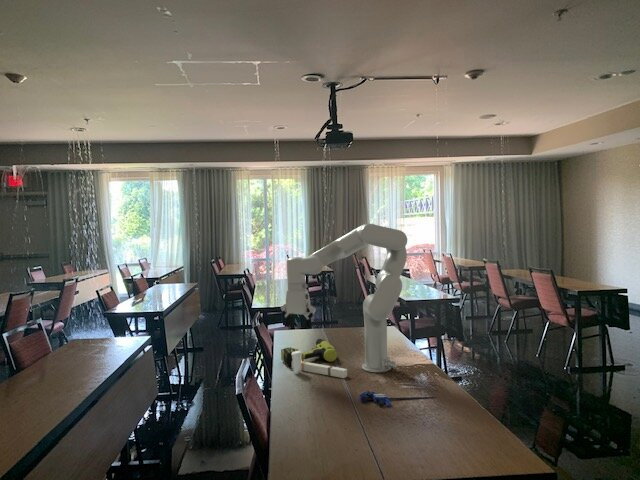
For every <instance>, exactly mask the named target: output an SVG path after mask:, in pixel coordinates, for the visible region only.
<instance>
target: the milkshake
mask: <svg viewBox="0 0 640 480" xmlns="http://www.w3.org/2000/svg"><path fill="white" fill-rule="evenodd" d="M291 350H292V347H291ZM302 353H303V352H302V351H301V350H299V351H295V352H293V350H292V362H293V369H292V370H293V375H301V373H302Z"/></svg>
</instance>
